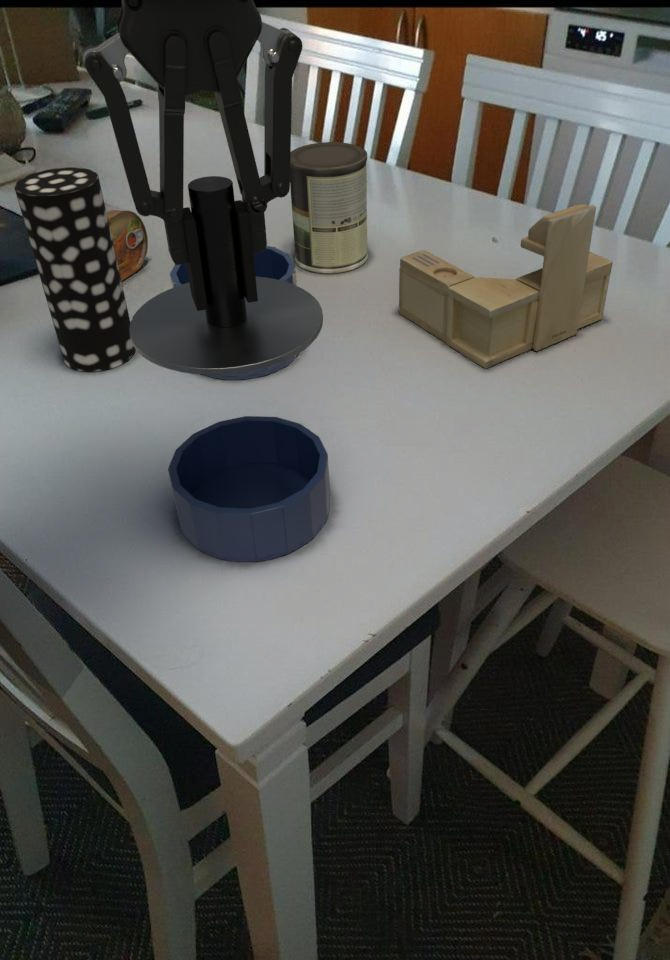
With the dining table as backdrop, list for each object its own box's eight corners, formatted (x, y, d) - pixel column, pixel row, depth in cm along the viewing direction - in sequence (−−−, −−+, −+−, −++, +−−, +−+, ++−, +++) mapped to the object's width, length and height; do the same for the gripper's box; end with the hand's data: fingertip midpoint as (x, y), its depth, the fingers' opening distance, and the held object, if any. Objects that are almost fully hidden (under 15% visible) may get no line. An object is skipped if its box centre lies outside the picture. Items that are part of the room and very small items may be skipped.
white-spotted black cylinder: (114, 328, 99) (75, 161, 87) (149, 353, 94) (113, 180, 81) (51, 352, 95) (1, 181, 83) (83, 380, 90) (35, 202, 77)
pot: (195, 389, 88) (181, 306, 82) (176, 332, 98) (162, 254, 92) (313, 366, 91) (308, 284, 84) (283, 313, 101) (277, 236, 94)
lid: (144, 398, 54) (110, 239, 47) (122, 304, 65) (92, 163, 58) (348, 360, 57) (345, 206, 50) (295, 276, 68) (287, 140, 61)
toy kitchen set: (509, 273, 107) (522, 156, 97) (607, 322, 96) (632, 195, 86) (397, 314, 100) (399, 191, 90) (488, 372, 89) (502, 239, 79)
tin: (83, 307, 104) (66, 244, 98) (64, 303, 105) (47, 240, 100) (154, 261, 114) (143, 202, 109) (136, 257, 115) (124, 198, 110)
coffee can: (280, 265, 112) (271, 160, 103) (319, 237, 118) (314, 137, 109) (344, 280, 107) (341, 172, 98) (381, 251, 114) (381, 147, 105)
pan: (192, 578, 66) (182, 529, 63) (169, 479, 76) (159, 433, 73) (348, 540, 69) (347, 491, 65) (306, 450, 79) (302, 404, 75)
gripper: (25, -77, 40) (118, 340, 55) (335, -95, 44) (343, 302, 58) (24, -89, 46) (109, 293, 61) (298, -104, 49) (315, 261, 64)
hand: (224, 297), depth 59 cm, fingers closed on lid, 3 cm apart
